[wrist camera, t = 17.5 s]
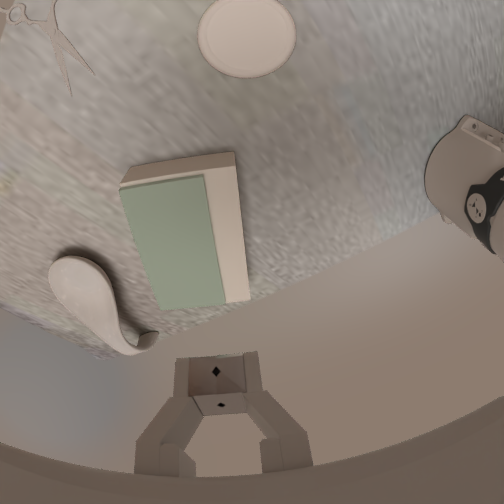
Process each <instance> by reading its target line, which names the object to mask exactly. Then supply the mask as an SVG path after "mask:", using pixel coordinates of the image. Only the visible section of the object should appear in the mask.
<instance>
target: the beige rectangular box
mask: <svg viewBox="0 0 504 504" xmlns="http://www.w3.org/2000/svg"><path fill="white" fill-rule="evenodd" d="M201 174H203V175H204V181H205V188H206V194H207V200H208V206H209V212H210V218H211V223H212V229H213V235H214V241H215V246H216V252H217V257H218V263H219V268H220V273H221V279H222V284H223V289H224V294H225V300H226V303H228V302H237V301H246V300H250V291H249V282H248V273H247V264H246V255H245V246H244V237H243V228H242V219H241V210H240V201H239V191H238V182H237V173H236V164H235V155H234V151H232V152H224V153H215V154H208V155H200V156H193V157H187V158H180V159H174V160H168V161H162V162H156V163H150V164H145V165H139V166H134V167H131V168H130V169H129V170H128V172H127V173H126V175H125V176H124V178H123V179H122V181H121V182H120V188H122V187H127V186H132V185H138V184H143V183H149V182H155V181H161V180H167V179H174V178H180V177H187V176H194V175H201Z"/></svg>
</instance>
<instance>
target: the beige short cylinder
mask: <svg viewBox="0 0 504 504" xmlns="http://www.w3.org/2000/svg"><path fill="white" fill-rule="evenodd" d="M197 39H198V45H199V48H200V51H201V53H202V55H203V56H204V58H205V59H206V60H207V62H208V63H209V64H210V65H211V66H212V67H214V68H215V69H217V70H218V71H220V72H222V73H224V74H226V75H229V76H233V77H237V78H256V77H261V76H264V75H267V74H269V73H271V72H273V71H275V70H277V69H278V68H280V67H281V66H282V65H283V64H284V63H285V62H286V61H287V60H288V59H289V57H290V55H291V54H292V52H293V50H294V46H295V42H296V28H295V24H294V21H293V19H292V17H291V15H290V13H289V12H288V11H287V9H286V8H285V7H284V6H283V5H282V4H281V3H279V2H278V1H277V0H217V1H216V2H214V3H213V4H212V5H211V6H210V7H209V8H208V9H207V10H206V11H205V13H204V14H203V16H202V18H201V20H200V22H199V26H198V32H197Z"/></svg>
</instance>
